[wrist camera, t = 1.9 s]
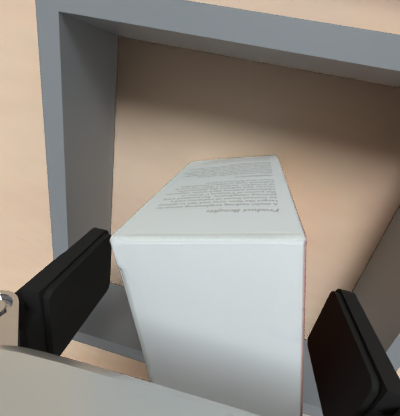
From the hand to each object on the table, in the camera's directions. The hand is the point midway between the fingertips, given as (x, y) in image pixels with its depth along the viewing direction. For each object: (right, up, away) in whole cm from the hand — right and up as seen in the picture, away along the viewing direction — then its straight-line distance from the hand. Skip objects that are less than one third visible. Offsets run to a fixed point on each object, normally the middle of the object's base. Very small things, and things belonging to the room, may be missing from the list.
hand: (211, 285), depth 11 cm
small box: (+2, +3, +7) cm, 8 cm away
